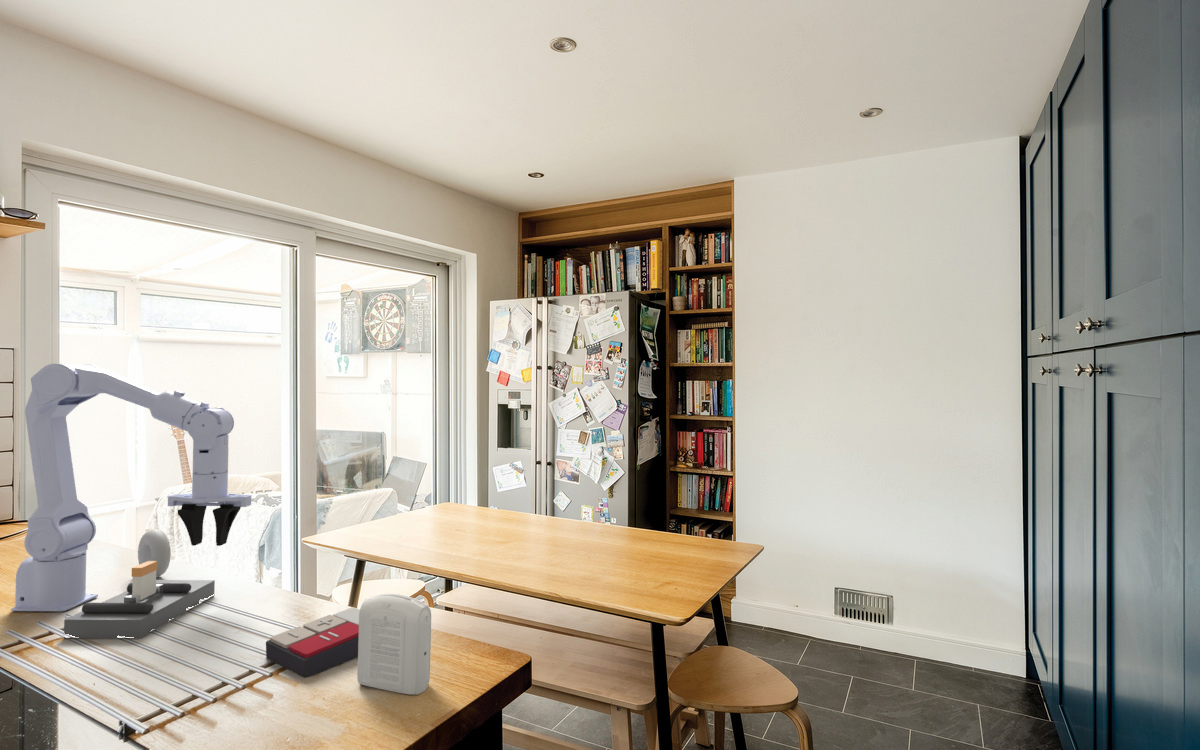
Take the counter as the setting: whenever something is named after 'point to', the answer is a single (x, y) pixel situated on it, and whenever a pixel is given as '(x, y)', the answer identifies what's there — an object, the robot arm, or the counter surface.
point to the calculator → (317, 644)
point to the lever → (144, 580)
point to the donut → (155, 550)
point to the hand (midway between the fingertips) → (209, 544)
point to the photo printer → (394, 644)
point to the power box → (137, 610)
